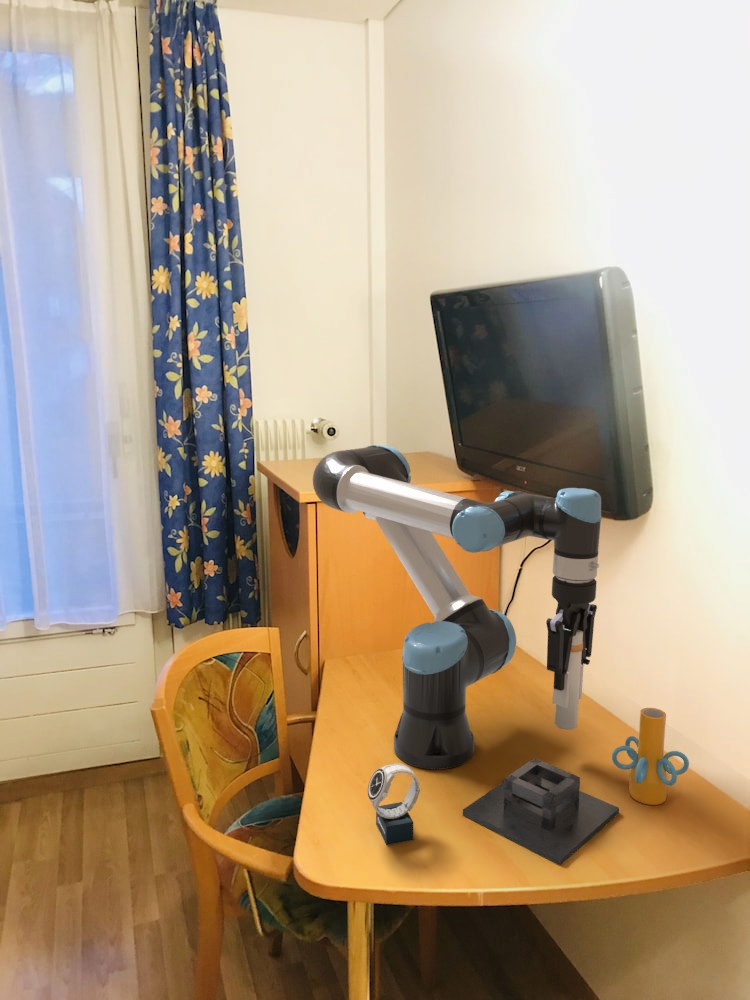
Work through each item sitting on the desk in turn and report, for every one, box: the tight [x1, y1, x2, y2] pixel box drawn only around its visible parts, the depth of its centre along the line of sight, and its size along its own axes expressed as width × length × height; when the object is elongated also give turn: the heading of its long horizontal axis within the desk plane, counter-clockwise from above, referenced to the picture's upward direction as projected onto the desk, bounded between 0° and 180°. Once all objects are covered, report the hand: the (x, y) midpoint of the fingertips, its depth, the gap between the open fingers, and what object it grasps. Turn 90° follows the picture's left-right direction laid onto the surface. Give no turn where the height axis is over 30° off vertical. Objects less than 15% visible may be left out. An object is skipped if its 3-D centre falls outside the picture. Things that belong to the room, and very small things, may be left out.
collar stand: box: [462, 757, 620, 866], centre depth 125 cm, size 18×18×6 cm
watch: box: [367, 763, 421, 846], centre depth 120 cm, size 6×8×11 cm
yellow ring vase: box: [611, 707, 690, 806], centre depth 129 cm, size 12×10×15 cm
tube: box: [554, 628, 583, 731], centre depth 139 cm, size 4×4×18 cm
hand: (567, 700), depth 140 cm, fingers closed on tube, 4 cm apart
